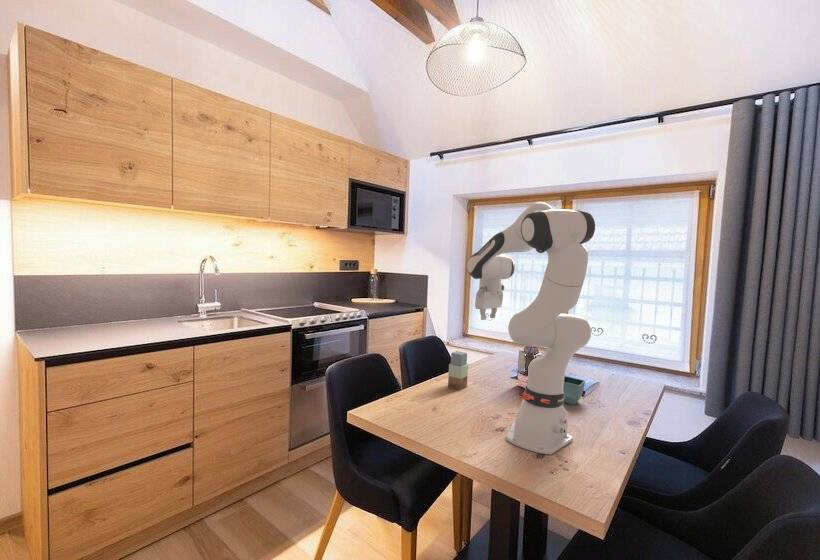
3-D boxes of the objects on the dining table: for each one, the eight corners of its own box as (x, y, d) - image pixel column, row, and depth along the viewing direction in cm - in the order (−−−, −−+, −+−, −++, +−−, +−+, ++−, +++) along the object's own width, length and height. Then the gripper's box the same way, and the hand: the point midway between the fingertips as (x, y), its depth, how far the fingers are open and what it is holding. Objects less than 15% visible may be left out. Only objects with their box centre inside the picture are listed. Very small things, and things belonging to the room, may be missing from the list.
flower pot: (578, 408, 146) (580, 385, 146) (555, 402, 151) (556, 380, 151) (583, 402, 153) (585, 380, 153) (561, 396, 158) (562, 375, 158)
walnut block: (460, 390, 159) (460, 378, 159) (447, 387, 163) (448, 375, 162) (466, 387, 164) (467, 375, 164) (454, 383, 168) (455, 372, 167)
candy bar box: (542, 392, 162) (544, 354, 161) (532, 393, 160) (535, 355, 159) (524, 384, 172) (527, 348, 171) (515, 385, 170) (518, 349, 169)
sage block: (460, 378, 159) (461, 367, 159) (448, 375, 162) (449, 364, 162) (467, 375, 164) (468, 364, 164) (455, 372, 167) (455, 361, 167)
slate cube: (461, 366, 159) (461, 355, 159) (450, 364, 162) (451, 352, 162) (466, 364, 163) (467, 353, 163) (456, 362, 166) (457, 350, 166)
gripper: (486, 287, 149) (484, 321, 149) (506, 286, 165) (504, 318, 166) (472, 285, 152) (470, 320, 153) (492, 285, 169) (490, 316, 169)
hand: (488, 319), depth 159 cm, fingers open, 8 cm apart
